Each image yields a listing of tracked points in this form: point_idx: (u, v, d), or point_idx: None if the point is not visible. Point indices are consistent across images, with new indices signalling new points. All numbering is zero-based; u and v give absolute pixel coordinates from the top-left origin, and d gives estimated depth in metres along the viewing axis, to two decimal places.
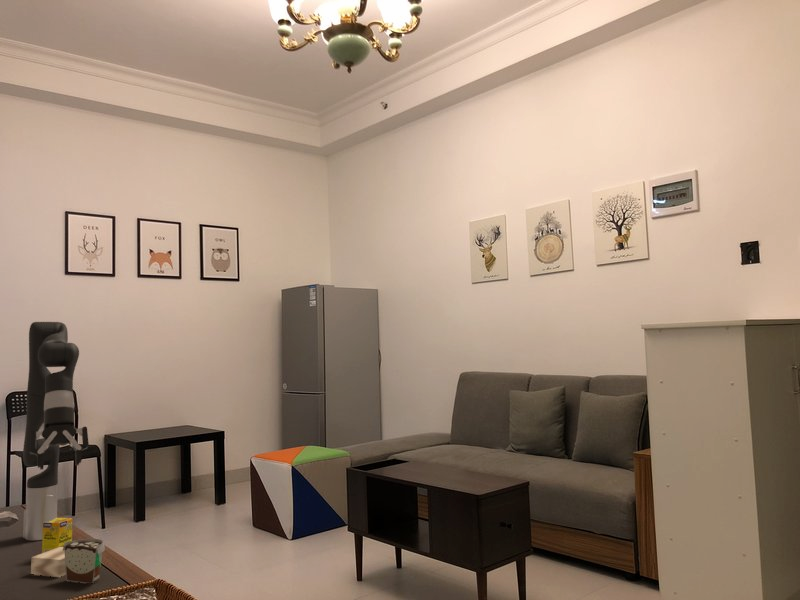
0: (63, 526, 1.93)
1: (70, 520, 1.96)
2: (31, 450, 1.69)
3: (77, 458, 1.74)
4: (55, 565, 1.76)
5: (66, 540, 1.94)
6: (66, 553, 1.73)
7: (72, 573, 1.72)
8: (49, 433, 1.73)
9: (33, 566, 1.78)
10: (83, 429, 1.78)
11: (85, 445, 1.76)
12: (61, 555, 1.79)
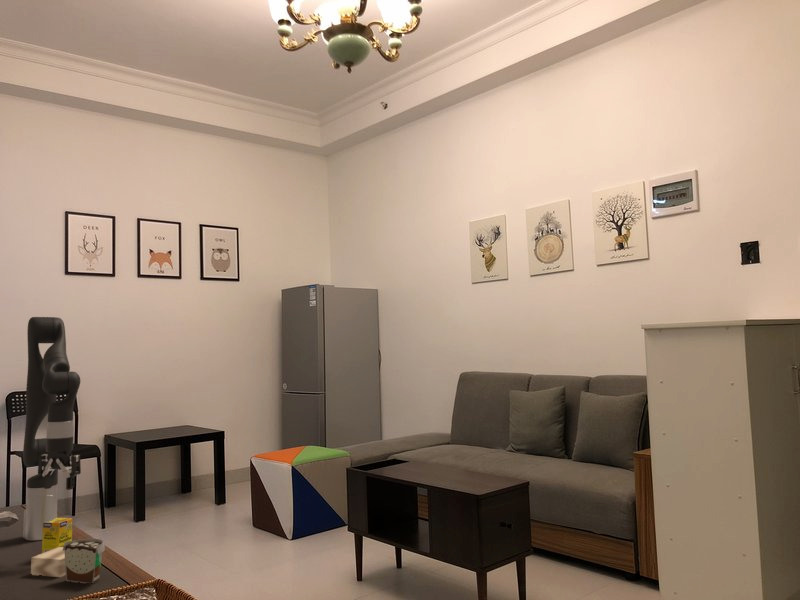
0: (63, 526, 1.93)
1: (70, 520, 1.96)
2: (38, 472, 1.97)
3: (67, 484, 1.94)
4: (56, 565, 1.76)
5: (66, 540, 1.94)
6: (66, 553, 1.73)
7: (72, 573, 1.72)
8: (50, 459, 1.96)
9: (33, 566, 1.78)
10: (71, 458, 1.94)
11: (72, 474, 1.93)
12: (61, 555, 1.79)
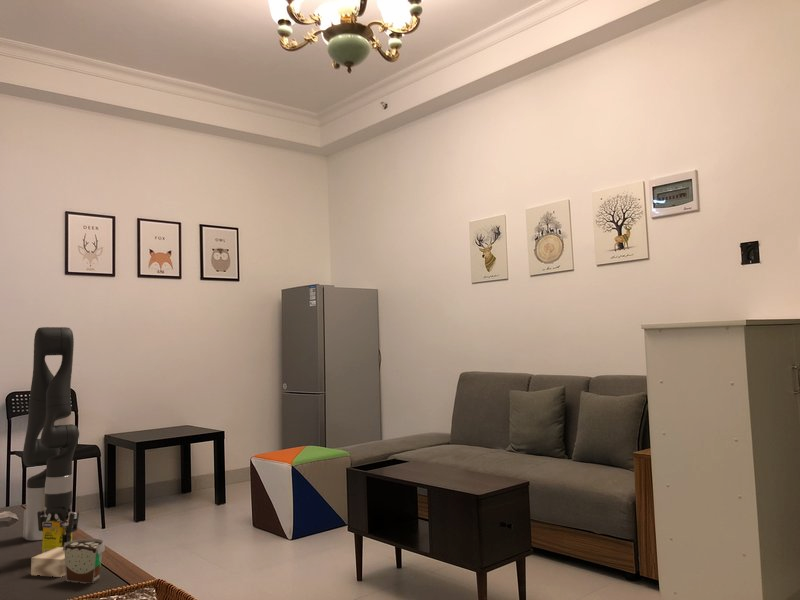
0: None
1: None
2: (39, 529, 1.95)
3: (63, 542, 1.92)
4: (57, 565, 1.76)
5: None
6: (66, 553, 1.73)
7: (72, 573, 1.72)
8: (48, 513, 1.95)
9: (33, 567, 1.78)
10: (70, 516, 1.92)
11: (68, 531, 1.92)
12: (62, 555, 1.80)
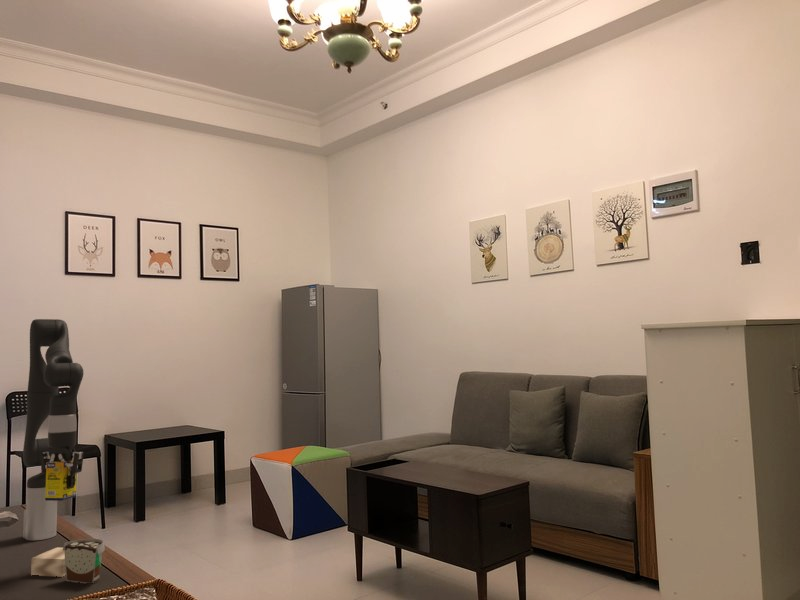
0: None
1: None
2: (42, 471, 1.87)
3: (67, 483, 1.84)
4: (58, 564, 1.76)
5: None
6: (66, 553, 1.73)
7: (72, 573, 1.72)
8: None
9: (33, 567, 1.77)
10: (74, 455, 1.84)
11: (72, 471, 1.84)
12: (62, 555, 1.80)
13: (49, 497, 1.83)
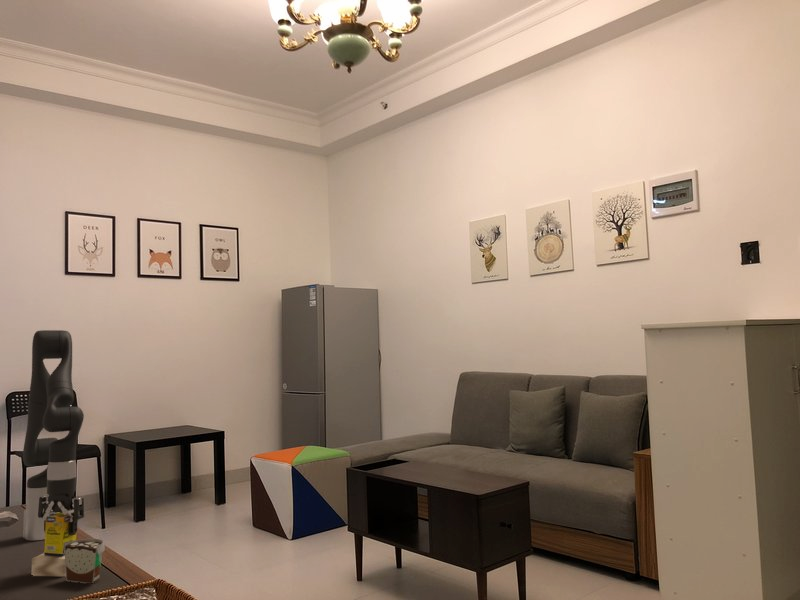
0: (67, 521, 1.81)
1: None
2: (38, 516, 1.83)
3: (69, 530, 1.80)
4: (60, 564, 1.76)
5: (70, 536, 1.82)
6: (66, 553, 1.73)
7: (72, 573, 1.72)
8: None
9: (33, 567, 1.77)
10: (74, 501, 1.80)
11: (75, 518, 1.80)
12: None
13: (48, 552, 1.79)
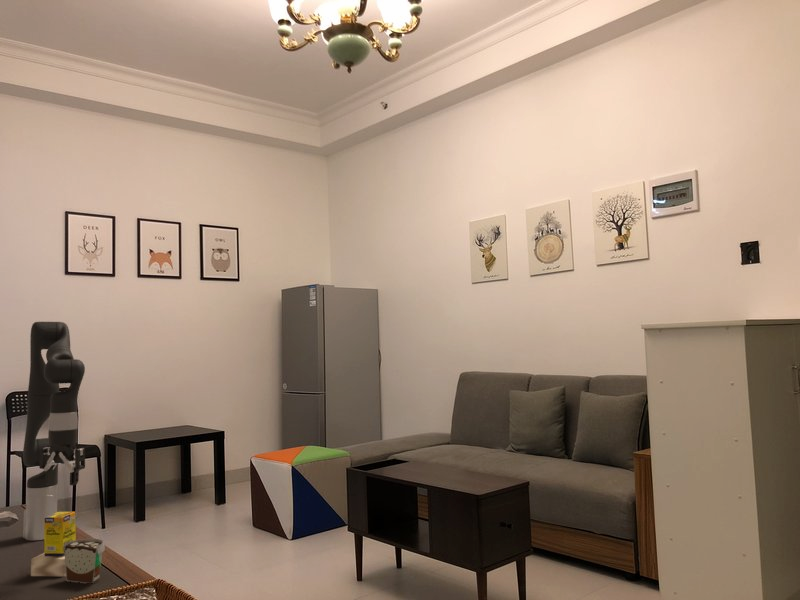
0: (66, 520, 1.81)
1: (73, 514, 1.84)
2: (40, 467, 1.84)
3: (70, 480, 1.81)
4: (60, 564, 1.76)
5: (70, 535, 1.82)
6: (66, 553, 1.73)
7: (72, 573, 1.72)
8: None
9: (33, 568, 1.77)
10: (75, 452, 1.81)
11: (76, 468, 1.81)
12: None
13: (49, 552, 1.79)
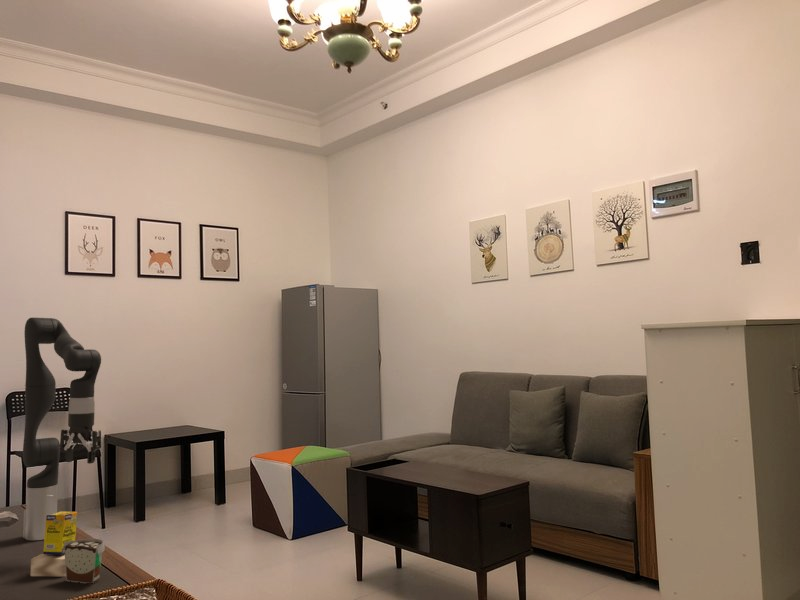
0: (67, 519, 1.81)
1: (75, 513, 1.85)
2: (60, 446, 2.03)
3: (88, 458, 2.00)
4: (60, 564, 1.76)
5: (70, 535, 1.82)
6: (66, 553, 1.73)
7: (72, 573, 1.72)
8: (72, 433, 2.03)
9: (33, 568, 1.77)
10: (92, 433, 2.00)
11: (93, 448, 2.00)
12: (62, 555, 1.80)
13: (47, 551, 1.79)
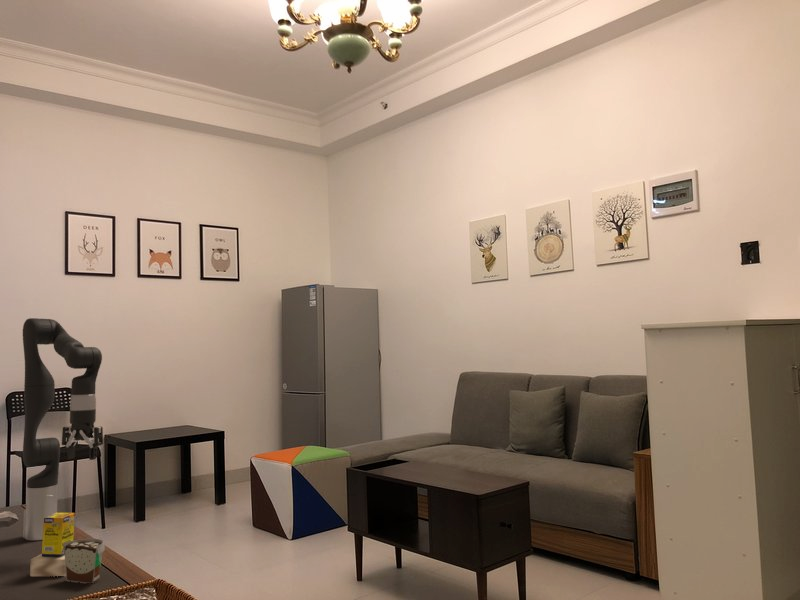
0: (66, 521, 1.80)
1: (72, 515, 1.84)
2: (62, 443, 2.05)
3: (90, 455, 2.02)
4: (59, 565, 1.76)
5: (68, 536, 1.82)
6: (66, 553, 1.73)
7: (72, 573, 1.72)
8: (73, 430, 2.04)
9: (32, 568, 1.77)
10: (94, 429, 2.02)
11: (95, 444, 2.01)
12: None
13: (46, 553, 1.78)
